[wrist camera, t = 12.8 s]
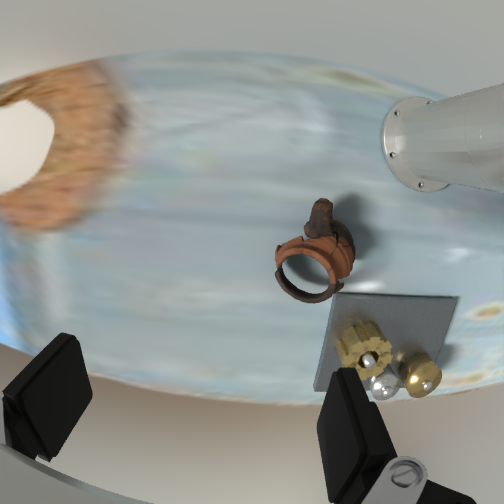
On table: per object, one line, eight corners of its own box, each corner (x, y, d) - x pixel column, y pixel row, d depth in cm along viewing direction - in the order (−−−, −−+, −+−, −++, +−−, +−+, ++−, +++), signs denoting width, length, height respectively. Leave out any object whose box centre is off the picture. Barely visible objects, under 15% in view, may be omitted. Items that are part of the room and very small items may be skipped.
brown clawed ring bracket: (357, 275, 39) (343, 316, 33) (291, 264, 43) (267, 300, 37) (362, 189, 33) (349, 218, 27) (286, 183, 37) (257, 208, 31)
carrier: (451, 297, 39) (473, 315, 33) (421, 380, 43) (435, 403, 37) (333, 292, 39) (346, 315, 33) (313, 385, 43) (319, 413, 37)
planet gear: (388, 322, 38) (399, 337, 35) (375, 363, 40) (384, 379, 36) (342, 321, 38) (349, 336, 35) (332, 363, 40) (337, 380, 36)
